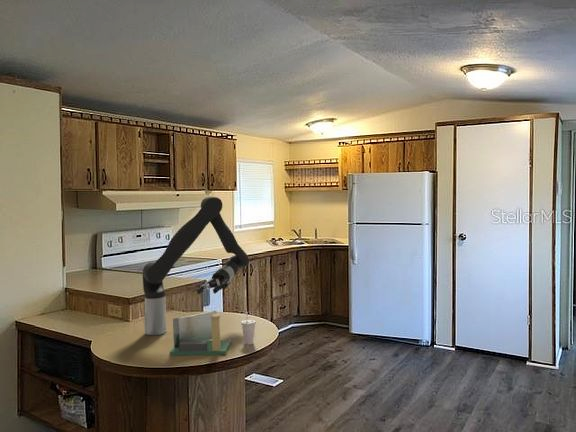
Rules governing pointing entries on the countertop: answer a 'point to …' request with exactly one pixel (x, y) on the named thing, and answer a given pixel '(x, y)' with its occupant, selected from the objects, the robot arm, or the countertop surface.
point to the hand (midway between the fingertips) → (206, 292)
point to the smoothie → (248, 330)
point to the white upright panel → (193, 328)
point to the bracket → (205, 343)
